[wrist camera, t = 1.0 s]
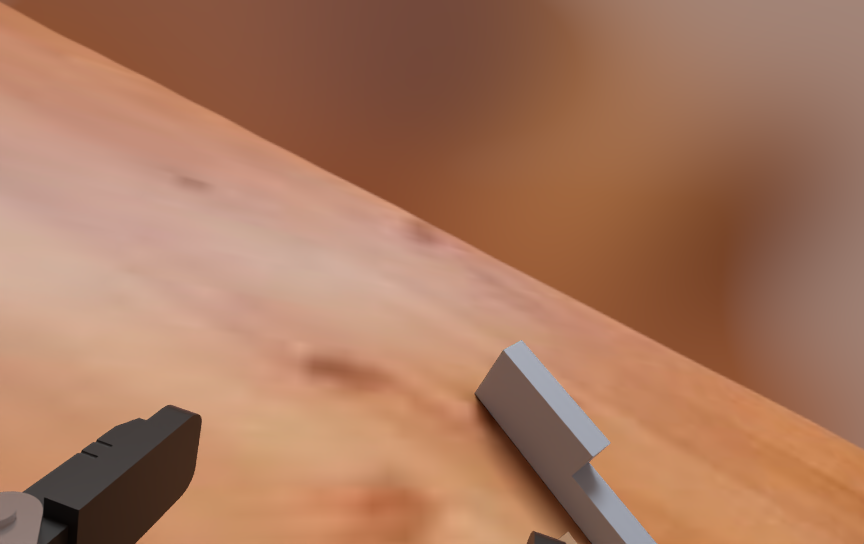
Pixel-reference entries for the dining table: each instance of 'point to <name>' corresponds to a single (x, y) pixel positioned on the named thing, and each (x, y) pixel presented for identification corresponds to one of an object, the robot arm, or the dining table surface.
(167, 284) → the dining table surface
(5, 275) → the dining table surface
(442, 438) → the dining table surface
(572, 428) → the slate rail
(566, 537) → the walnut block
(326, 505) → the dining table surface
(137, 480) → the robot arm
